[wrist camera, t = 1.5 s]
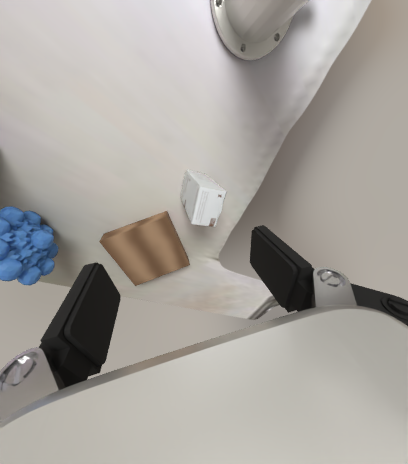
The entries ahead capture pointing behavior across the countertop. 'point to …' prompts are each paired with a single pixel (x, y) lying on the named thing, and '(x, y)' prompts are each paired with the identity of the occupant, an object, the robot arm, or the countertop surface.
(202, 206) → the skincare box
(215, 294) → the countertop surface
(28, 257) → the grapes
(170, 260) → the walnut board
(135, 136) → the countertop surface
